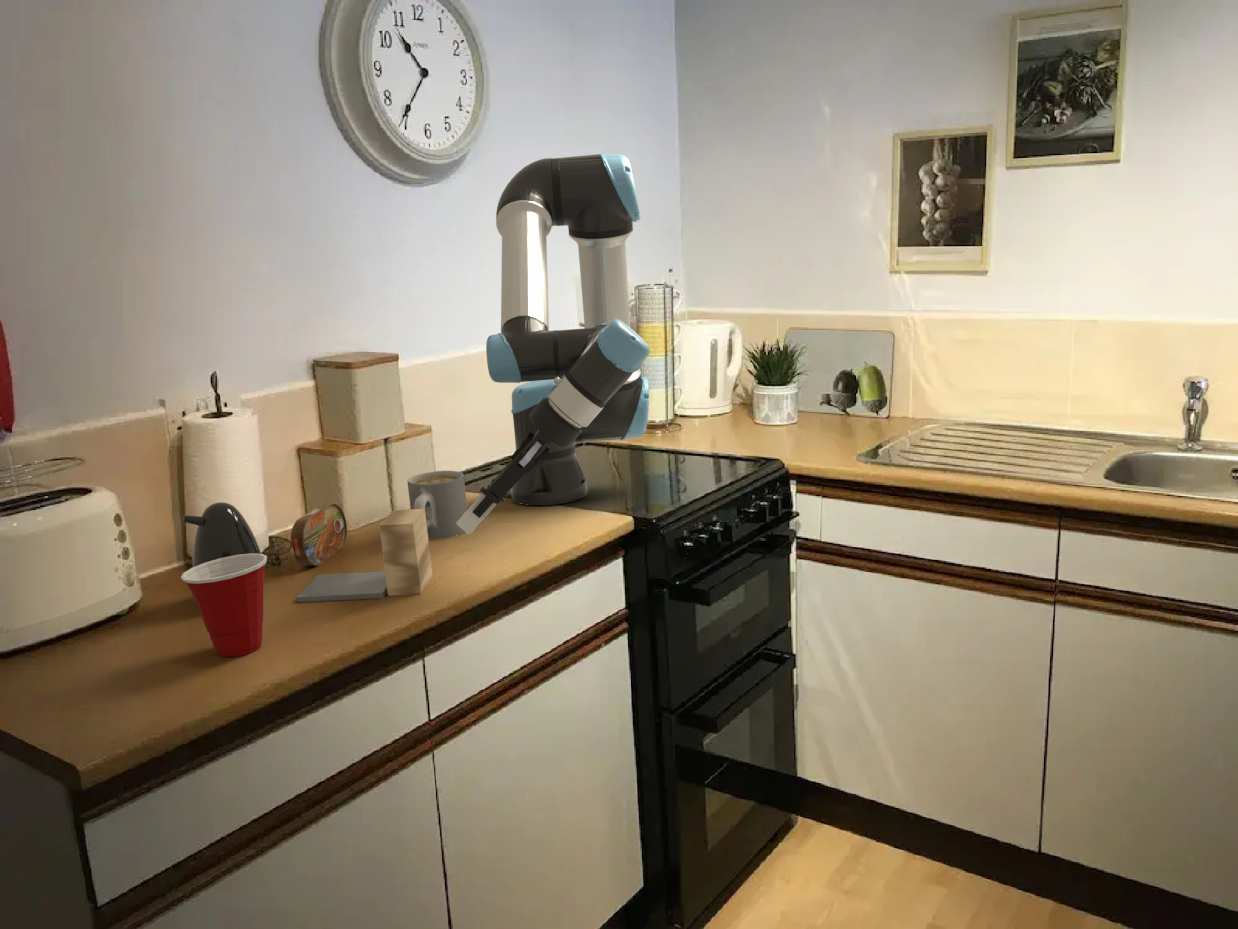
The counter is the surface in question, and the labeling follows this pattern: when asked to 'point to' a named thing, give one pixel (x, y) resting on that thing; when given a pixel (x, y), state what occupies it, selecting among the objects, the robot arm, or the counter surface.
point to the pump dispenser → (221, 534)
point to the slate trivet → (345, 587)
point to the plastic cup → (230, 601)
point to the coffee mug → (439, 501)
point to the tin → (319, 535)
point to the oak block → (406, 551)
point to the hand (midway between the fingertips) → (463, 528)
